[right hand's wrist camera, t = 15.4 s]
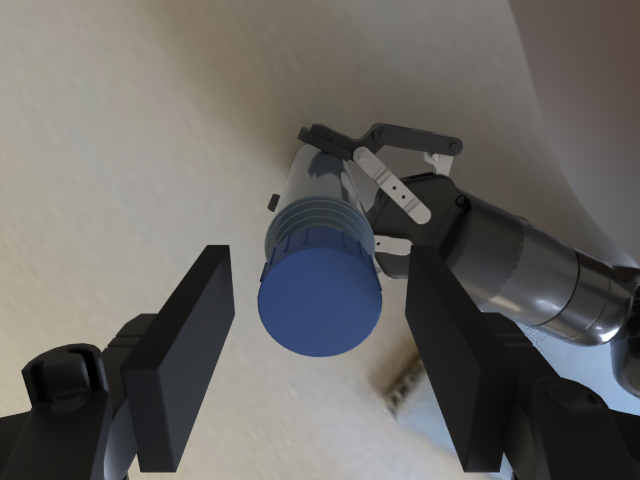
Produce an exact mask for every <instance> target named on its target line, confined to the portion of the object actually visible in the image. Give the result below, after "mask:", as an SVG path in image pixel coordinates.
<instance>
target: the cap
mask: <svg viewBox="0 0 640 480" xmlns="http://www.w3.org/2000/svg"><path fill="white" fill-rule="evenodd" d="M260 282H261V286H260V289H259V293H258V310H259V315H260V318H261V321H262V323H263V325H264V327H265V328H266V330H267V332H268V333H269V334H270V335H271V336H272V338H273V339H274V340H276V341H277V342H278V343H279V344H280V345H282V346H283V347H285V348H287V349H289V350H290V351H293V352H295V353H298V354H301V355H305V356H311V357H329V356H335V355H339V354H342V353H345V352H347V351H349V350H351V349H353V348H355V347H357V346H358V345H359V344H361V343H362V342H363V341H364V340H365V339H366V338H367V337H368V336H369V335H370V334H371V333H372V331H373V330H374V328H375V326H376V325H377V322H378V320H379V318H380V314H381V309H382V295H381V291H382V288H381V285H380V281H379V278H378V275H377V272H376V269H375V266H374V263H373V259H372V256H371V254H370V255H369V254H368V253H367V251H366V250H365V248H364V247H363V246H362V245H361V242H360V241H357V240H355V239H354V238H353V237H351V236H350V235H348V234H346V233H345V231H342V232H341V231H338V230H335V229H330V228H326V226H324V228H310V229H307V228H304V230H302V231H299V232H296V233H294V234H292V235H290V236H289V235H287V237H286V239H284V240H283V241H282V242H281V243H280V244H279V245H278V246H277V247H274V248H273V251H272V254H271V256H270V258H269V260H268V263H267V262H266V263H265V266H264V269H263V272H262V275H261V279H260Z"/></svg>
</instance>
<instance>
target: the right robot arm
mask: <svg viewBox="0 0 640 480" xmlns="http://www.w3.org/2000/svg"><path fill="white" fill-rule="evenodd" d="M234 316H235V308H234V296H233V284H232V272H231V260H230V248H229V245H207V246H206V247H205V249H204V250H203V251H202V253H201V254H200V256H199V257H198V258H197V260H196V261H195V263H194V264H193V265H192V267H191V268H190V270H189V271H188V272H187V274H186V275H185V277H184V278H183V279H182V281H181V282H180V283H179V285H178V286H177V288H176V289H175V290H174V292H173V293H172V295H171V296H170V297H169V299H168V300H167V302H166V303H165V304H164V306H163V307H162V308H161V310H160V311H159V313H158V314H140V315H138V316H137V317H135V318H134V319H132V320H130V321H129V322H127V323H126V324H125V325H124V326H123V327H122V329H121V330H120V331H119V332H118V333H117V335H116V338H113V339H112V341H111V342H110V343H109V344H108V347H107V348H105V349H104V350H103V352H102V353H101V350H100V349H99V348H97V347H96V346H95V345H91V344H85V343H80V344H69V345H65V346H61V347H57V348H54V349H52V350H49V351H47V352H44V353H42V354H40V355H39V356H37V357H36V358H34V359H33V360H31V361H30V362H28V364H27V365H26V366H25V367H24V368H23V369H22V370H21V372H22V375H23V379H24V382H25V385H26V388H27V392H28V395H29V398H30V401H31V405H32V408H31V411H28V412H24V413H20V414H15V415H11V416H6V417H1V418H0V480H129V477H128V473H127V471H128V469H129V467H130V465H131V463H132V461H133V459H134V457H135V455H136V453H137V457H138V462H139V467H140V472H176V471H177V468H178V465H179V463H180V460H181V457H182V455H183V452H184V449H185V447H186V444H187V441H188V439H189V436H190V433H191V431H192V428H193V425H194V423H195V420H196V417H197V415H198V412H199V409H200V407H201V404H202V401H203V399H204V396H205V393H206V391H207V388H208V385H209V383H210V380H211V377H212V375H213V372H214V369H215V367H216V364H217V361H218V359H219V356H220V353H221V351H222V348H223V345H224V343H225V340H226V337H227V335H228V332H229V329H230V327H231V324H232V321H233V319H234ZM405 316H406V319H407V321H408V324H409V327H410V329H411V332H412V335H413V337H414V340H415V343H416V345H417V348H418V351H419V353H420V356H421V359H422V361H423V364H424V367H425V369H426V372H427V375H428V377H429V380H430V383H431V385H432V388H433V391H434V393H435V396H436V399H437V401H438V404H439V407H440V409H441V412H442V415H443V417H444V420H445V423H446V425H447V428H448V431H449V433H450V436H451V439H452V441H453V444H454V447H455V449H456V452H457V455H458V457H459V460H460V463H461V465H462V468H463V471H464V472H500V467H501V462H502V457H503V452H504V453H505V455H506V457H507V459H508V461H509V463H510V465H511V467H512V469H513V473H512V477H511V480H640V416H638V415H633V414H629V413H624V412H619V411H615V410H612V409H609V408H608V406H607V404H606V403H605V402H604V400H603V399H602V398H601V397H600V396H599V395H598V394H597V393H595V392H594V391H593V390H591V389H590V388H588V387H586V386H584V385H582V384H580V383H578V382H576V381H573V380H569V379H566V378H562V377H560V376H559V375H558V374H557V373H556V371H555V370H554V369H553V368H552V366H551V365H550V364H549V363H548V362H547V360H546V359H545V358H544V357H543V356H542V354H541V353H540V352H539V351H538V350H537V348H536V347H535V346H533V344H532V342H531V341H530V340H529V339H528V338H527V336H525V335H524V333H523V332H522V330H521V329H520V328H519V327H518V326H517V324H516V323H515V322H513V321H512V320H510V319H509V318H507V317H506V316H504V315H502V314H501V313H499V312H481V311H480V310H479V308H478V307H477V306H476V304H475V303H474V302H473V300H472V299H471V297H470V296H469V295H468V293H467V292H466V290H465V289H464V288H463V286H462V285H461V283H460V282H459V281H458V279H457V278H456V277H455V275H454V274H453V272H452V271H451V270H450V268H449V267H448V265H447V264H446V263H445V261H444V260H443V258H442V257H441V256H440V254H439V253H438V251H437V250H436V249H435V247H434V246H433V245H411V248H410V260H409V272H408V284H407V296H406V308H405Z"/></svg>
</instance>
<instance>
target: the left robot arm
mask: <svg viewBox="0 0 640 480" xmlns="http://www.w3.org/2000/svg"><path fill="white" fill-rule="evenodd" d="M297 138H298V139H299V140H301V141H303V142H305V143H307V144H309V145H312V146H314V147H316V148H318V149H320V150H322V151H325V152H327V153H329V154H331V155H334V156H336V157H338V158H340V159H342V160H344V161H346V162H348V160H349V159H350V160H352V161H354V162H356V163H357V164H358V165H359V166H360V167H361V168H362V169H363V170H364V171H365V172H366V173H367V174H368V175H369V176H370V177H371V178H372V179H373V180H374V181H375V182H376V183H377V184H378V185H379V186H380V188H379V190H378V192H377V194H376V197H375V202H374V205H373V206H372V208H371V209H370V210H369V211H368V212H367V213H366V214H367V217H368V220H369V222H370V225H371V228H372V231H373V234H374V238H375V255H374V257H375V259H376V260H377V262H378V264H379V266H380V267H378V268H376V272H377V275H378V278H379V281H380V285H381V287H382V286H383V285H384V284H385V283H386V282H387V281H388V280H389V279H390V278H394V279H399V278H407V279H408V272H409V260H410V248H411V245H433V246H434V247H435V249H436V250H437V251H438V253H439V254H440V256H441V257H442V258H443V260H444V261H445V263H446V264H447V265H448V267H449V268H450V270H451V271H452V272H453V274H454V275H455V277H456V278H457V279H458V281H459V282H460V283H461V285H462V286H463V288H464V289H465V290H466V292H467V293H468V295H469V296H470V297H471V299H472V300H473V302H474V303H475V304H476V306H477V307H478V308H479V309H480V310H483V311H485V312H499V313H501V314H502V315H504V316H506V317H507V318H509V319H510V320H512V321H515V322H518V323H521V324H524V325H526V326H528V327H531V328H533V329H536V330H538V331H540V332H543V333H545V334H547V335H550V336H552V337H554V338H557V339H559V340H562V341H564V342H566V343H569V344H572V345H576V346H581V347H595V346H600V345H603V344H605V343H607V342H609V341H610V348H611V365H612V371H613V375H614V378H615V380H616V381H617V383H618V384H619V385H620V386H621V387H622V388H623V389H624V390H625V391H627V392H628V393H629V394H631V395H633V396H635V397H636V398H638V399H640V268H636V267H631V266H626V265H620V264H614V263H609V262H604V261H602V260H600V259H598V258H596V257H594V256H591V255H589V254H587V253H585V252H583V251H581V250H579V249H577V248H574V247H572V246H570V245H568V244H566V243H564V242H562V241H561V240H559V239H558V238H556V237H555V236H553V235H552V234H550V233H549V232H547V231H546V230H544V229H542V228H540V227H538V226H536V225H534V224H532V223H530V222H529V221H527V220H526V219H525V218H522V217H520V216H515V215H513V214H511V213H508V212H506V211H504V210H502V209H500V208H498V207H496V206H494V205H491V204H489V203H487V202H485V201H483V200H481V199H479V198H477V197H475V196H472V195H470V194H468V193H466V192H464V191H462V190H460V189H458V188H457V187H456V186H455V184H454V183H453V181H452V180H451V179H450V178H449V177H448V176H449V173H450V169H451V165H452V162H453V158H454V156H457V155H458V154H460V152H461V151H462V148H463V144H462V142H461V140H460V139H458V138H455V137H452V136H450V135H447V134H442V133H436V132H430V131H424V130H419V129H413V128H407V127H401V126H396V125H390V124H384V123H375V124H374V125H372V127H371V129H370V130H369V131H368V132H367V133H366V134H365V135H364V136H363V137H361V138H359V139H352V138H350V137H347V136H345V135H343V134H341V133H339V132H337V131H335V130H333V129H331V128H328V127H326V126H324V125H322V124H312V127H311V129H308V128H305V127H302V128H301V130H300V132H299V135H298V137H297ZM383 145H388V146H394V147H400V148H406V149H411V150H417V151H421V157H422V159H423V160H425V161H426V162H427V163H430V164H431V165H432V167H433V172H429V173H423V174H418V175H413V176H408V177H403V178H398V177H397V176H396V175H395V174H394V173H393V172H392V171H391V170H390V169H389V168H388V167H387V166H386V165H385V164H384V163H383V162H382V161H381V160H380V159H379V158H378V157H377V156H376V155H375V153H376V152H377V151H378V150H379V149H380V148H381V147H382V146H383ZM279 198H280V195H277V194H273V195H272V198H271V200H270V202H269V205H268V207H267V208H268V209H269V210H270V211H272V212H275V209H276V206H277V204H278V201H279Z"/></svg>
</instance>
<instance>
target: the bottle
mask: <svg viewBox="0 0 640 480" xmlns="http://www.w3.org/2000/svg"><path fill="white" fill-rule="evenodd" d="M324 226H326V228H330V229H335V230H338V231H341V232H342V231H345V233H346V234H348V235H350V236H351V237H353V238H354V239H355V240H357V241H360V242H361V245H362V246H363V247H364V248H365V250H366V251H367V253H368V254H369V255H370V254H371V256H372V259H373V260H374V255H375V238H374V234H373V231H372V228H371V225H370V222H369V220H368V217H367V214H366V212H365V209H364V206H363V203H362V201H361V198H360V195H359V193H358V190H357V187H356V184H355V182H354V179H353V176H352V174H351V171H350V168H349V165H348V163H347V162H346V161H344V160H342V159H340V158H338V157H336V156H334V155H331V154H329V153H327V152H325V151H322V150H320V149H318V148H316V147H314V146H312V145H309V144H307V143H306V144H305V145H303V146H302V147H301V148H300V149H299V150H298V152H297V153H296V155H295V158H294V160H293V163H292V166H291V169H290V171H289V174H288V177H287V179H286V182H285V185H284V187H283V190H282V193H281V196H280V198H279V201H278V204H277V206H276V209H275V212H274V214H273V217H272V220H271V223H270V225H269V228H268V231H267V233H266V238H265V256H266V260H267V263H268V260H269V258H270V256H271V254H272V251H273V248H274V247H277V246H278V245H279V244H280V243H281V242H282V241H283V240H284V239H286V237H287V235H289V236H290V235H292V234H294V233H296V232H299V231H302V230H304V228H307V229H310V228H324Z"/></svg>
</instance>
